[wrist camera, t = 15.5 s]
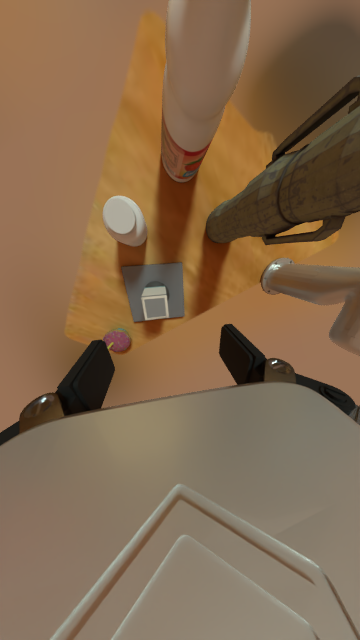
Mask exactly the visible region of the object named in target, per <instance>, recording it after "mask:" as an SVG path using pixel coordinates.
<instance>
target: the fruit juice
mask: <svg viewBox="0 0 360 640" xmlns="http://www.w3.org/2000/svg"><path fill="white" fill-rule="evenodd" d="M250 22H251V0H169V2H168V9H167V19H166V32H165V47H166V66H165V71H164V80H163V92H162V132H161V156H162V162H163V165H164V168H165V170H166V172H167V173H168V175H169V176H170V177H171V178H172V179H173V180H175V181H177V182H187V181H189V180H190V179H192V178H193V177H194V175H195V174H196V173H197V171H198V169H199V167H200V165H201V163H202V160H203V158H204V156H205V154H206V152H207V150H208V148H209V146H210V143H211V141H212V139H213V137H214V135H215V133H216V131H217V129H218V126H219V124H220V121H221V119H222V116H223V112H224V109H225V105H226V104H227V102H228V101H229V99H230V98H231V96H232V94H233V92H234V90H235V88H236V85H237V83H238V80H239V78H240V75H241V72H242V69H243V66H244V62H245V58H246V54H247V49H248V43H249V35H250Z"/></svg>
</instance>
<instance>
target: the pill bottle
mask: <svg viewBox="0 0 360 640" xmlns="http://www.w3.org/2000/svg"><path fill="white" fill-rule="evenodd" d="M103 221H104V225H105V227H106V229H107V231H108V232H109V234H110V235H111V236H112V237H113V238H114V239H115V240H117V241H119V242H121V243H124V244H126V245H129V246H139V245H141V244H142V243H144V241H145V240H146V237H147V226H146V223H145V220H144V217H143V214H142V212H141V210H140V208H139V207H138V206H137V204H136V203H135V202H134V201H132V200H131V199H129V198H127V197H124V196H114V197H112V198H110V199H109V200H108V201H107V202H106V204H105V206H104V208H103Z"/></svg>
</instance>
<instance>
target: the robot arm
mask: <svg viewBox="0 0 360 640" xmlns="http://www.w3.org/2000/svg"><path fill="white" fill-rule="evenodd" d="M261 286H262V288H263V290H264V291H265V292H266V293H268V294H279V293H283V294H286V295H290V296H292V297H295V298H299V299H302V300H305V301H308V302H312V303H314V304H318V305H334V304H338V303H342V302H345V304H344V306H343V308H342V310H341V312H340V314H339V315H338V317H337V319H336V320H335V322H334V324H333V326H332V327H331V330H330V332H329V338H330V339H331V340H332V342H333V343H335V344H336V345H338V346H340V347H341V348H343V349H345V350H347V351H350V352H352V353H354V354H356V355H359V356H360V268H353V267H351V268H350V267H333V266H319V265H305V264H295V263H294V262H293V261H292V260H291V259H289V258H280V259H277V260H275V261H273V262H272V263H270V264H269V265H268V267H267V268H266V269H265V271H264V273H263V275H262V278H261ZM219 354H220V357H221V358H222V360H223V362H224V363H225V365H226V367H227V368H228V370H229V371H230V373H231V375H232V376H233V378H234V380H235V381H236V383H237V385H234V386H228V387H221V388H215V389H209V390H203V391H197V392H192V393H186V394H180V395H174V396H168V397H163V398H157V399H151V400H145V401H140V402H134V403H129V404H123V405H118V406H112V407H107V408H101V406H102V404H103V401H104V398H105V396H106V393H107V390H108V388H109V385H110V382H111V380H112V377H113V374H114V371H115V367H114V364H113V361H112V359H111V356H110V353H109V351H108V348H107V345H106V343H105V341H102V340H94V341H92V342H91V343H90V345H89V346H88V347H87V349H86V350H85V352H84V353H83V354H82V356H81V357H80V358H79V359H78V361H77V362H76V363H75V365H74V366H73V367H72V368H71V370H70V371H69V372H68V374H67V375H66V377H65V378H64V379H63V380H62V382H61V383H60V384H59V386H58V387H57V388H58V390H57V391H56V392H55V393H53V392H52V393H47V394H44V395H42V396H39V397H38V398H36V399H35V400H33V401H32V402H30V403H29V404H28V405H27V406H26V407H25V408H24V409H23V411H22V412H21V414H20V418H19V421H18V422H16V423H15V424H13V425H12V426H10V427H8V428H7V429H5V430H4V431H2V432H1V433H0V640H360V405H359V406H358V405H356V404H355V403H354V401H353V400H352V399H351V398H350V397H349V396H348V395H347V394H346V393H344V392H343V391H341V390H339V389H338V388H335V387H333V386H330V385H328V384H325V383H322V382H319V381H316V380H313V379H310V378H308V377H304V376H302V375H299V374H296V373H295V372H294V369H293V367H292V366H291V365H290V364H288V363H287V362H285V361H283V360H280V359H276V358H270V359H268V360H267V359H266V358H265V355H263V353H262V352H260V351H259V350H258V349H257V348H256V347H255V346H254V345H253V344H252V343H251V342H250V341H249V340H248V339H247V338H246V337H245V336H244V335H243V334H242V333H240V331H238V330H237V329H236V328H235V327H234V326H233V325H232V324H225V325H224V326H223V327H222V329H221V338H220V349H219Z"/></svg>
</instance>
